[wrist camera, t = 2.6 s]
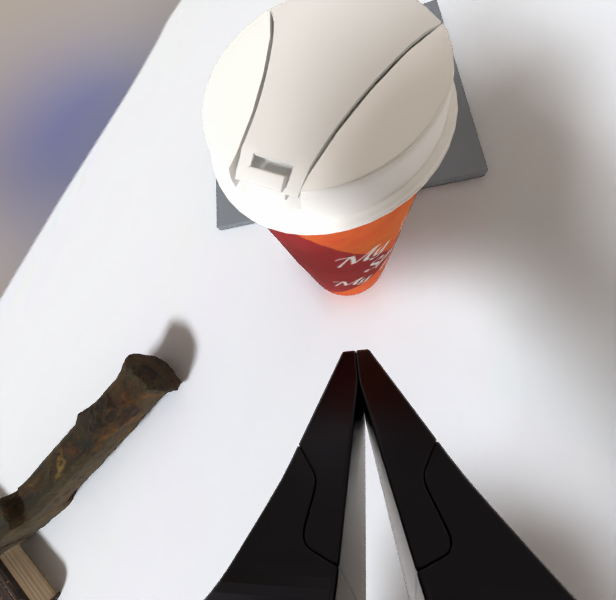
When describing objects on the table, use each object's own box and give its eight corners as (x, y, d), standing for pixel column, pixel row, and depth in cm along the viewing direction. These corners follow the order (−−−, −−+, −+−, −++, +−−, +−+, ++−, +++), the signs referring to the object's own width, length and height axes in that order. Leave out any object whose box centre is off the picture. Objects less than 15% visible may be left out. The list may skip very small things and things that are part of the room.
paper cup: (373, 326, 19) (401, 254, 5) (284, 287, 21) (141, 165, 7) (414, 233, 19) (527, -36, 6) (324, 205, 22) (260, -41, 8)
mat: (484, 175, 19) (487, 170, 19) (220, 230, 23) (216, 227, 23) (434, 8, 23) (436, -1, 23) (217, 79, 27) (214, 73, 27)
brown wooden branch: (164, 350, 22) (113, 348, 18) (189, 384, 21) (142, 392, 17) (15, 506, 22) (-73, 544, 18) (31, 550, 21) (-58, 602, 17)
